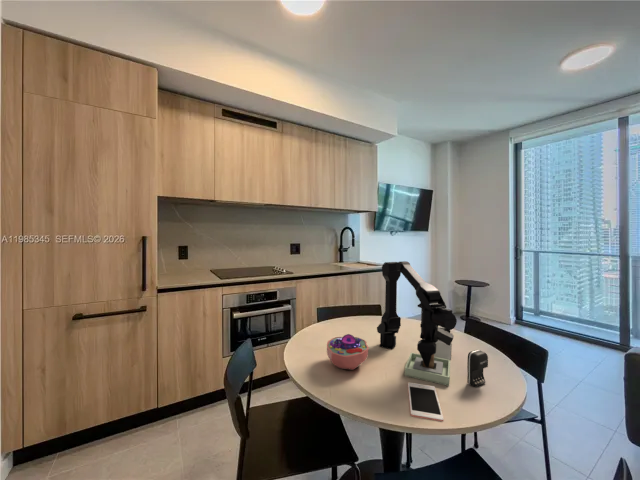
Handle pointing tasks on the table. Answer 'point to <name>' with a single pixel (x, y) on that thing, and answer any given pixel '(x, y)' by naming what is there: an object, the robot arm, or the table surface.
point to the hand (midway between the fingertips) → (428, 361)
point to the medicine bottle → (443, 349)
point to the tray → (427, 374)
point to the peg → (430, 363)
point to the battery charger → (476, 367)
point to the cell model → (347, 351)
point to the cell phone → (424, 402)
